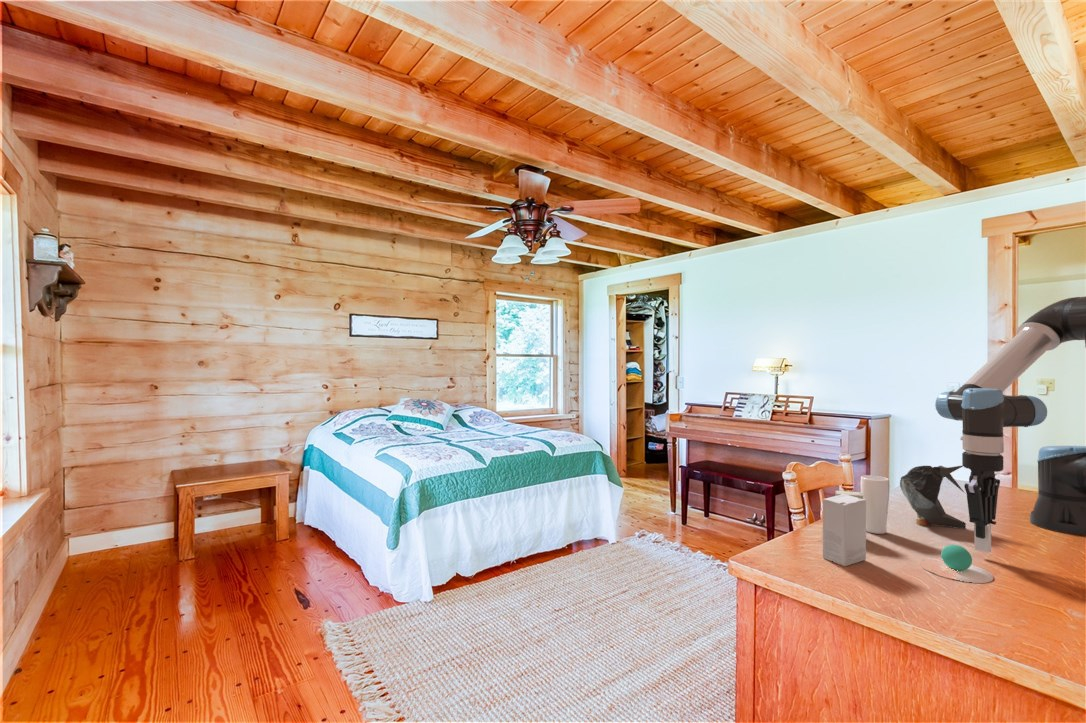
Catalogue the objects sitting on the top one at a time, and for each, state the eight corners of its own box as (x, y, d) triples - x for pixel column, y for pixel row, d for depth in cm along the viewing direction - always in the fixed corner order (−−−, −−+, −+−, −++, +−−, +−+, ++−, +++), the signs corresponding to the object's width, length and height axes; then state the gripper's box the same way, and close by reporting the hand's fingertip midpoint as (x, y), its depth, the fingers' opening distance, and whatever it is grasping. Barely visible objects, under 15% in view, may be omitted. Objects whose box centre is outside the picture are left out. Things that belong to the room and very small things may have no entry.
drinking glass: (894, 536, 139) (894, 481, 139) (866, 534, 140) (866, 480, 140) (883, 528, 145) (882, 475, 145) (856, 526, 147) (856, 474, 147)
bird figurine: (894, 514, 159) (894, 456, 158) (956, 520, 152) (956, 459, 152) (905, 528, 146) (905, 464, 145) (973, 535, 139) (972, 469, 139)
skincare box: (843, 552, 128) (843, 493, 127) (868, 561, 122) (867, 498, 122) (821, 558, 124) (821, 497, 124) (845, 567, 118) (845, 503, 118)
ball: (954, 573, 119) (960, 551, 120) (975, 576, 113) (981, 553, 115) (932, 561, 119) (938, 539, 120) (952, 564, 114) (958, 541, 115)
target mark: (961, 559, 123) (961, 558, 123) (1010, 583, 110) (1010, 582, 110) (906, 559, 123) (906, 558, 123) (948, 583, 110) (948, 582, 110)
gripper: (975, 447, 130) (975, 541, 130) (950, 452, 123) (951, 550, 123) (1013, 452, 123) (1014, 550, 123) (990, 457, 117) (990, 561, 117)
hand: (982, 550), depth 123 cm, fingers closed
